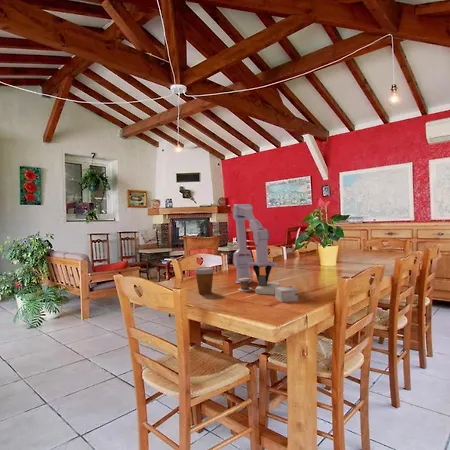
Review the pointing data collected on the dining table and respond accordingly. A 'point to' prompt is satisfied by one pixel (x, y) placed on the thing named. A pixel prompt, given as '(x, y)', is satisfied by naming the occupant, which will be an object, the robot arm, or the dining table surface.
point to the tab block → (262, 280)
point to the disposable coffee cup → (204, 279)
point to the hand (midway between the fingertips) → (262, 281)
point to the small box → (286, 294)
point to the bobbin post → (244, 285)
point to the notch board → (267, 288)
